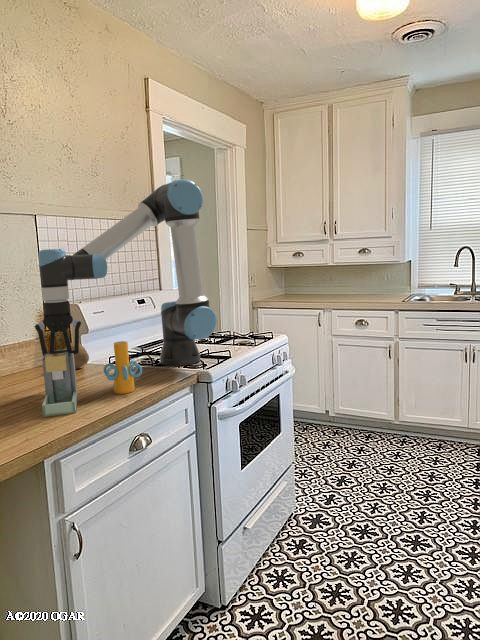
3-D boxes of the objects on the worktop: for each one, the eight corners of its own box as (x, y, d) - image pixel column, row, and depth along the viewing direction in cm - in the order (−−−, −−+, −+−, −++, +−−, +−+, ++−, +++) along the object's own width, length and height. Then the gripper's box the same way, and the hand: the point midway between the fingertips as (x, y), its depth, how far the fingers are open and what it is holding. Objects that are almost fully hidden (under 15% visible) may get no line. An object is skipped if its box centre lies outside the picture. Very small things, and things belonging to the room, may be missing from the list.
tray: (77, 401, 140) (76, 391, 139) (75, 412, 129) (74, 401, 129) (47, 405, 137) (45, 395, 137) (43, 417, 127) (41, 405, 127)
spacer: (67, 367, 135) (65, 352, 134) (66, 370, 131) (64, 355, 130) (47, 369, 133) (46, 354, 133) (46, 372, 130) (44, 357, 129)
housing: (77, 396, 145) (73, 346, 143) (76, 404, 137) (71, 351, 135) (48, 399, 143) (43, 349, 141) (45, 408, 134) (40, 354, 132)
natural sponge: (59, 369, 184) (56, 342, 183) (82, 364, 190) (79, 339, 189) (69, 372, 178) (66, 345, 176) (92, 367, 183) (90, 341, 182)
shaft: (73, 367, 155) (72, 348, 154) (70, 383, 134) (68, 362, 133) (53, 369, 153) (51, 350, 152) (46, 386, 132) (44, 364, 132)
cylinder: (103, 389, 152) (99, 341, 150) (137, 384, 156) (133, 337, 154) (109, 399, 141) (105, 347, 139) (146, 393, 145) (142, 343, 143)
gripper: (84, 298, 153) (90, 372, 156) (29, 302, 149) (36, 378, 152) (83, 300, 146) (90, 377, 149) (25, 304, 142) (34, 383, 145)
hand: (63, 377), depth 150 cm, fingers closed on shaft, 3 cm apart
